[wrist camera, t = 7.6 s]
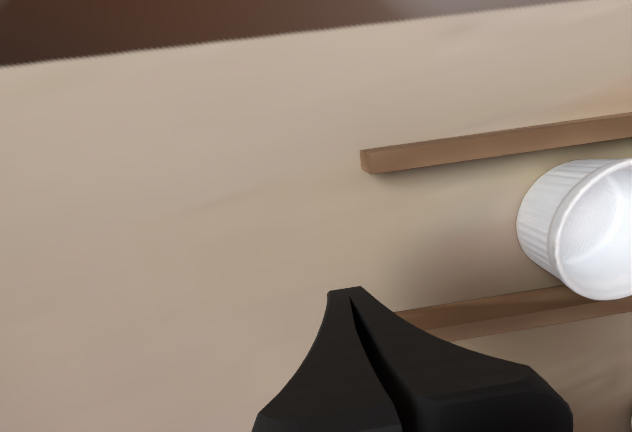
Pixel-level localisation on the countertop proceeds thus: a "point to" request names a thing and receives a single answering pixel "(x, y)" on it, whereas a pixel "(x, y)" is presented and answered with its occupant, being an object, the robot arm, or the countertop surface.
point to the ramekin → (582, 226)
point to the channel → (514, 307)
